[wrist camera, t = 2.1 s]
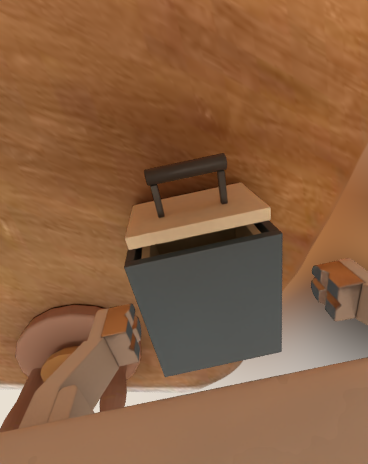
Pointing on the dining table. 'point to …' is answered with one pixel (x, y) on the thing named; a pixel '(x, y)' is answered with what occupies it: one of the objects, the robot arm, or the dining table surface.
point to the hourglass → (59, 357)
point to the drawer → (193, 211)
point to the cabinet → (212, 300)
